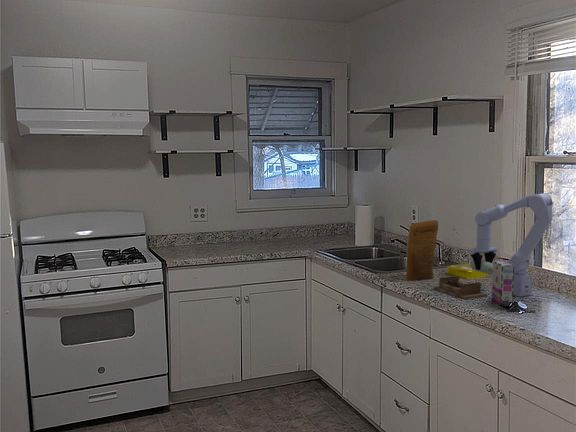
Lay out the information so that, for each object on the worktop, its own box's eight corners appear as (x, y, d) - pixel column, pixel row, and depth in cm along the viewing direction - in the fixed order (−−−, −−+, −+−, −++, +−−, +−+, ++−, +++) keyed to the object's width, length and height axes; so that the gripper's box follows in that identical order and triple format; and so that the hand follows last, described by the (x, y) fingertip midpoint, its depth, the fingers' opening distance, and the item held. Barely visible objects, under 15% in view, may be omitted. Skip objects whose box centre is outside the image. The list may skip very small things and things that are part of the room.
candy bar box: (513, 307, 223) (514, 265, 222) (500, 307, 223) (501, 265, 222) (503, 299, 234) (504, 260, 233) (491, 299, 235) (492, 260, 233)
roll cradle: (486, 296, 240) (487, 283, 239) (463, 299, 235) (464, 286, 235) (455, 286, 258) (456, 274, 258) (433, 289, 254) (433, 276, 253)
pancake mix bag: (441, 278, 275) (442, 220, 272) (409, 282, 267) (410, 222, 264) (432, 275, 281) (433, 219, 278) (400, 279, 273) (401, 221, 270)
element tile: (490, 276, 280) (490, 266, 279) (469, 280, 272) (469, 270, 271) (466, 271, 292) (466, 262, 292) (445, 274, 285) (445, 265, 284)
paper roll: (495, 274, 251) (495, 262, 250) (486, 275, 249) (486, 263, 248) (479, 269, 260) (479, 258, 259) (470, 270, 258) (470, 259, 258)
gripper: (490, 236, 259) (489, 266, 261) (464, 238, 254) (463, 268, 255) (501, 238, 253) (500, 268, 254) (475, 240, 247) (474, 271, 249)
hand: (482, 269), depth 254 cm, fingers closed on paper roll, 5 cm apart
